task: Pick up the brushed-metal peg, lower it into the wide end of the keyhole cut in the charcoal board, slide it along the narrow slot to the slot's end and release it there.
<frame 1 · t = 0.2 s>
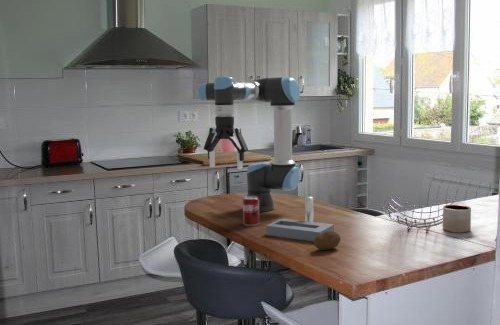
hand: (225, 168, 222), 28 cm above the kitchen island, fingers open, 13 cm apart
soda can: (251, 224, 242), on the kitchen island
planter: (456, 230, 225), on the kitchen island
keyhole board: (300, 234, 223), on the kitchen island
potato: (326, 249, 202), on the kitchen island
peg: (309, 226, 235), on the kitchen island
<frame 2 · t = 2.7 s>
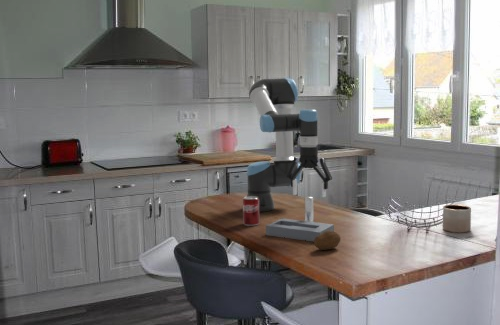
hand: (309, 195, 233), 14 cm above the kitchen island, fingers open, 13 cm apart
nothing on the kitchen island moved.
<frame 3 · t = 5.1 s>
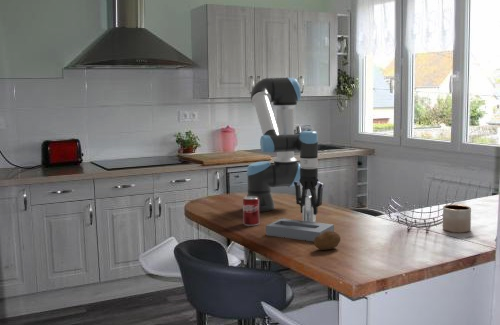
hand: (309, 221, 235), 3 cm above the kitchen island, fingers closed on peg, 3 cm apart
peg: (309, 225, 235), on the kitchen island, touching gripper
everything else where it was.
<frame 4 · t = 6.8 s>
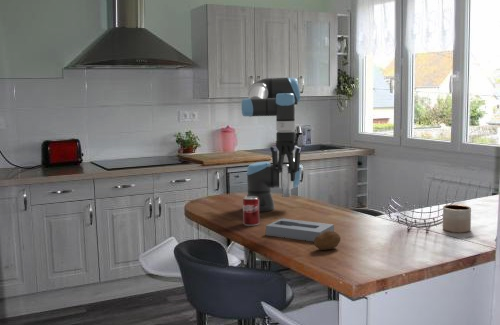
hand: (286, 188, 224), 19 cm above the kitchen island, fingers closed on peg, 3 cm apart
peg: (286, 196, 225), point 15 cm above the kitchen island, touching gripper
everything else where it was.
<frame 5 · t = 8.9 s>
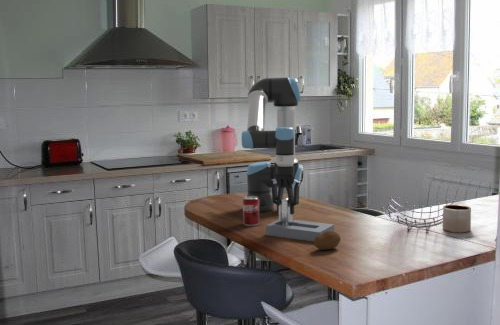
hand: (285, 220, 226), 5 cm above the kitchen island, fingers closed on peg, 3 cm apart
peg: (285, 229, 226), point 1 cm above the kitchen island, touching gripper
everything else where it was.
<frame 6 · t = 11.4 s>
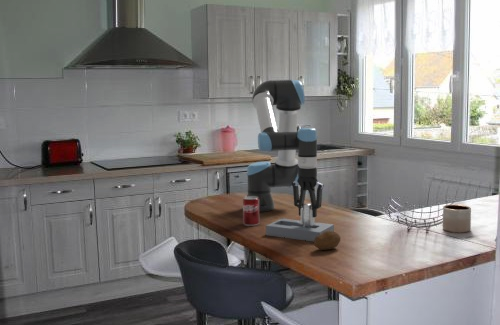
hand: (307, 224, 221), 5 cm above the kitchen island, fingers closed on peg, 3 cm apart
peg: (307, 235, 221), on the kitchen island, touching gripper
everything else where it was.
when the fingers open (5 cm above the kitchen island, at t = 12.9 s): peg stays where it is, on the kitchen island.
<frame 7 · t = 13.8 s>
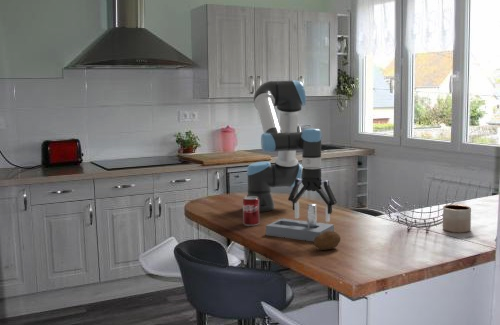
hand: (312, 219, 219), 7 cm above the kitchen island, fingers open, 13 cm apart
peg: (312, 236, 220), on the kitchen island
everything else where it was.
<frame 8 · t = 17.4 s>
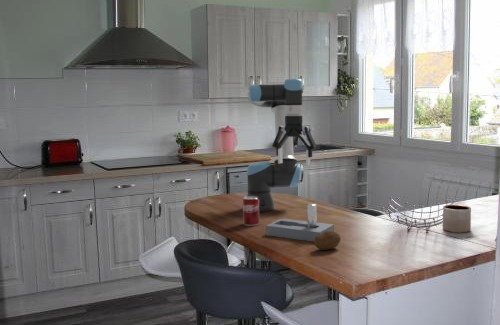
hand: (294, 164, 238), 27 cm above the kitchen island, fingers open, 13 cm apart
nothing on the kitchen island moved.
at the end: peg 0.2 cm from the target spot on the keyhole board, point 0.0 cm above the keyhole board's base; peg tilted 0°; the gripper is holding nothing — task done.
